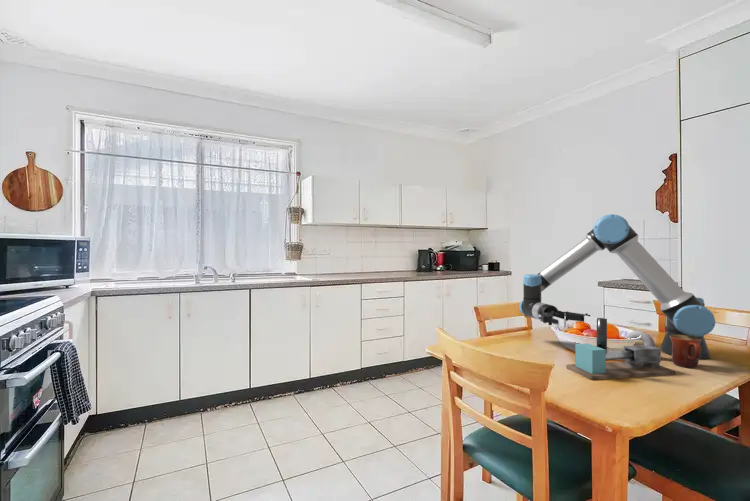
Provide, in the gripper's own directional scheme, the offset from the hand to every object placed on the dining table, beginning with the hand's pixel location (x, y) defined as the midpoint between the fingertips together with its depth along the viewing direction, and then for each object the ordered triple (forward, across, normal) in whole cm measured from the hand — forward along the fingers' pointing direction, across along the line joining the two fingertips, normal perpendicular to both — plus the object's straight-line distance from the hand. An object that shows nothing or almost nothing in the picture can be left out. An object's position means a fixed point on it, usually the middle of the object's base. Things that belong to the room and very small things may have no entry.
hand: (581, 322), depth 135 cm
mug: (+10, -35, -15) cm, 39 cm away
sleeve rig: (+10, -7, -15) cm, 19 cm away
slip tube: (+10, -4, -11) cm, 15 cm away
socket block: (+10, +4, -14) cm, 18 cm away
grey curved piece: (-4, -29, -15) cm, 33 cm away
